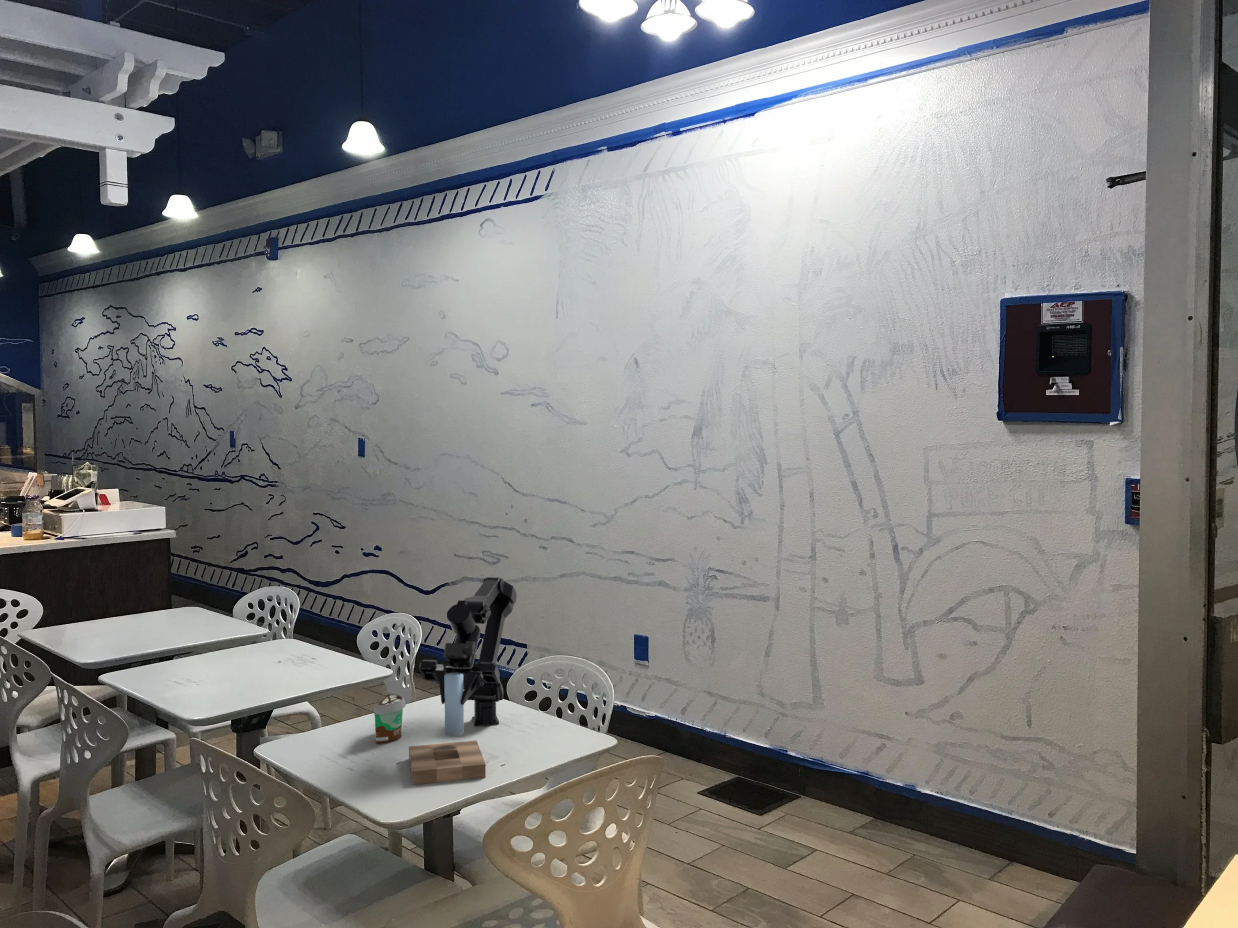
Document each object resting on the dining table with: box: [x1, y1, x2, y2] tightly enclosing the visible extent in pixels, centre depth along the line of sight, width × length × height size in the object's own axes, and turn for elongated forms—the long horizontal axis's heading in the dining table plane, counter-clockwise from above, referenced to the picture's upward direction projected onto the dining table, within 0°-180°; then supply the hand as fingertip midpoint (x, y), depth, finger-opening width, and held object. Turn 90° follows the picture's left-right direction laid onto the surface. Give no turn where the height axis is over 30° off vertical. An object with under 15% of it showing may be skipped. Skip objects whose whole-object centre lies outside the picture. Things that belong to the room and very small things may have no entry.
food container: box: [373, 691, 406, 745], centre depth 242 cm, size 12×6×10 cm, turn 179°
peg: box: [444, 672, 465, 737], centre depth 228 cm, size 4×4×14 cm
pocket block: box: [408, 739, 487, 785], centre depth 222 cm, size 16×16×3 cm
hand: (452, 703), depth 227 cm, fingers closed on peg, 4 cm apart
